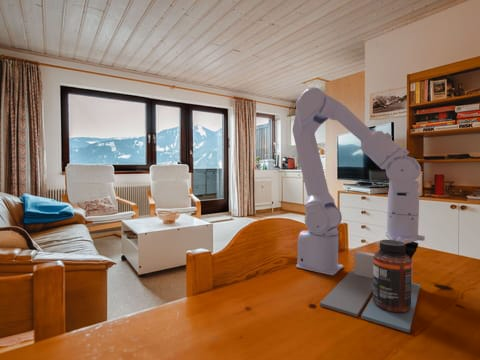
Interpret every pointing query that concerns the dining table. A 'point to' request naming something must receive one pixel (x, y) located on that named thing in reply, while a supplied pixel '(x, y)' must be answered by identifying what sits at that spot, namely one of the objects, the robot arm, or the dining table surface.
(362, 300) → the strip empty
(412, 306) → the strip
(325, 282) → the dining table surface
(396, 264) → the supplement bottle
